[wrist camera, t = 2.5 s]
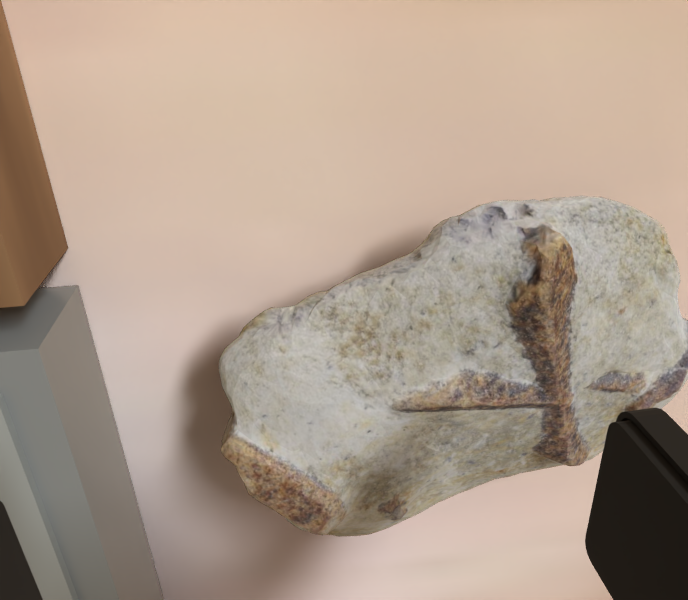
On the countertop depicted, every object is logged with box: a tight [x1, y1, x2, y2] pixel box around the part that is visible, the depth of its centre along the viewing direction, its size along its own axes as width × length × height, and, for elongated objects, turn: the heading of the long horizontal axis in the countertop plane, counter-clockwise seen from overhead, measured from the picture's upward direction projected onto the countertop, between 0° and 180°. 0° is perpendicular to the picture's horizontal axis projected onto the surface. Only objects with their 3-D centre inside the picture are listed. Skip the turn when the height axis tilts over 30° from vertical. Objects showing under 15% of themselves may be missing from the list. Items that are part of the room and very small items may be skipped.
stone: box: [219, 196, 688, 536], centre depth 15 cm, size 12×9×3 cm
